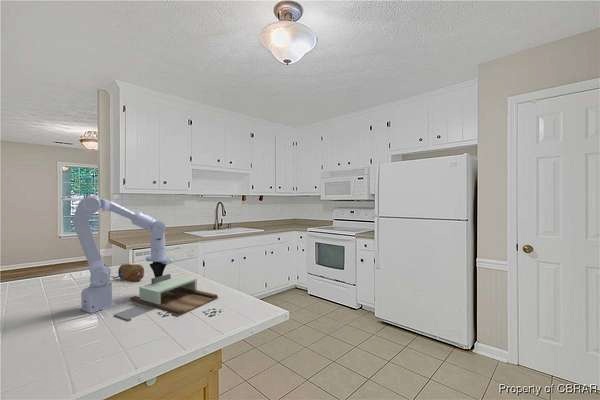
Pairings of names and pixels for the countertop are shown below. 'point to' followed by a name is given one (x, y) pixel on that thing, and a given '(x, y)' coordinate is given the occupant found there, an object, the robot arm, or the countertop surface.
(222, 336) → the countertop surface
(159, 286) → the cover
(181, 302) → the puzzle board
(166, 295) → the block
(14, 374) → the countertop surface
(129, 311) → the mat
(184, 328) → the countertop surface
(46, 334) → the countertop surface
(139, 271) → the tin
